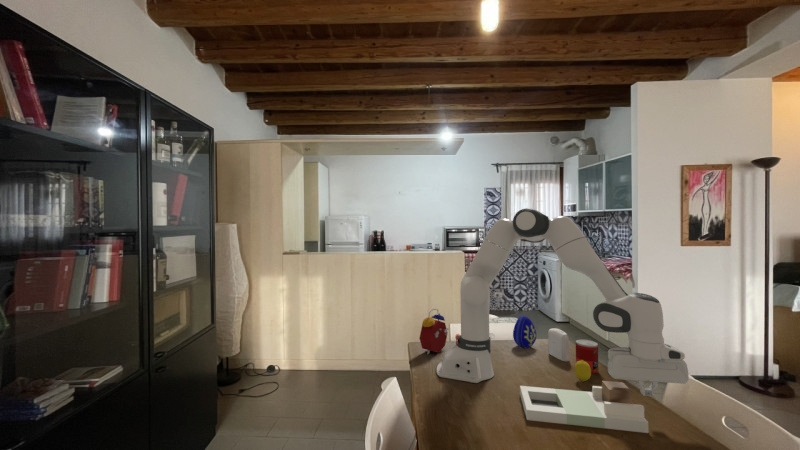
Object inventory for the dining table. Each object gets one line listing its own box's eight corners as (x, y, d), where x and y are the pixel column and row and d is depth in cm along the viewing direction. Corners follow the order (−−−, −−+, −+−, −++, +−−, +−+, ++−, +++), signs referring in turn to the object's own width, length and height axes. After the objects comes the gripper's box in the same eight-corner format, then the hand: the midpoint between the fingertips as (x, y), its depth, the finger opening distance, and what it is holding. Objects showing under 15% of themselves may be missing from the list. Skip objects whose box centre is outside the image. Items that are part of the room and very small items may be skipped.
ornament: (523, 352, 157) (523, 319, 157) (508, 346, 165) (508, 315, 165) (539, 347, 162) (539, 316, 163) (524, 342, 170) (524, 312, 171)
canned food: (598, 375, 131) (597, 346, 132) (575, 371, 136) (574, 343, 136) (598, 368, 138) (598, 341, 138) (576, 364, 142) (576, 338, 142)
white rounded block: (546, 353, 155) (546, 326, 155) (555, 352, 156) (554, 325, 156) (562, 362, 145) (561, 333, 145) (571, 361, 146) (570, 332, 146)
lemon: (593, 385, 123) (593, 363, 123) (576, 384, 124) (576, 362, 124) (588, 379, 128) (587, 357, 128) (572, 377, 129) (572, 356, 130)
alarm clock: (436, 345, 167) (436, 304, 167) (452, 349, 161) (451, 307, 161) (419, 354, 155) (418, 310, 155) (435, 358, 150) (434, 313, 150)
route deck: (526, 419, 101) (526, 399, 101) (520, 394, 117) (519, 376, 117) (648, 433, 94) (648, 411, 94) (623, 404, 110) (623, 385, 110)
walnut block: (609, 409, 101) (609, 389, 101) (602, 399, 107) (601, 380, 107) (632, 411, 100) (631, 391, 100) (623, 401, 105) (623, 382, 105)
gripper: (611, 350, 101) (613, 397, 101) (691, 354, 97) (692, 403, 96) (603, 343, 107) (605, 387, 107) (678, 346, 103) (679, 392, 102)
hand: (647, 394), depth 102 cm, fingers closed
